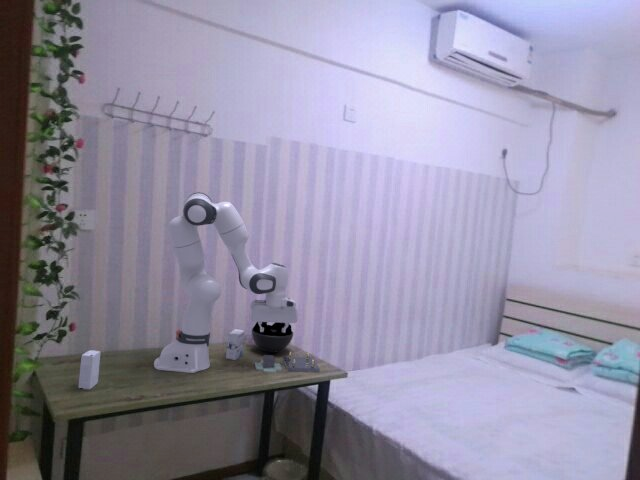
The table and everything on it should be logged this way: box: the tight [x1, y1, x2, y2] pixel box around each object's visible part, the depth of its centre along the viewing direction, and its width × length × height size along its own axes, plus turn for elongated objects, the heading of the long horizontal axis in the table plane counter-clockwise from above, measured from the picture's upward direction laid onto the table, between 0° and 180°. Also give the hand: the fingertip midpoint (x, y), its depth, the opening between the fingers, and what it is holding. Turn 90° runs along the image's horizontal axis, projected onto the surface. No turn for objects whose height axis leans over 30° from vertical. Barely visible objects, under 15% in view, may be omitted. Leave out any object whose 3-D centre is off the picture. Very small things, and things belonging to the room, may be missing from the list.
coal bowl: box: [251, 322, 294, 353], centre depth 235 cm, size 20×20×19 cm
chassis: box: [282, 351, 321, 373], centre depth 219 cm, size 14×15×5 cm
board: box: [254, 354, 283, 373], centre depth 213 cm, size 11×13×5 cm
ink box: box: [225, 328, 246, 361], centre depth 221 cm, size 9×5×12 cm, turn 168°
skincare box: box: [78, 349, 101, 390], centre depth 172 cm, size 6×4×12 cm
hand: (272, 332), depth 212 cm, fingers open, 8 cm apart
